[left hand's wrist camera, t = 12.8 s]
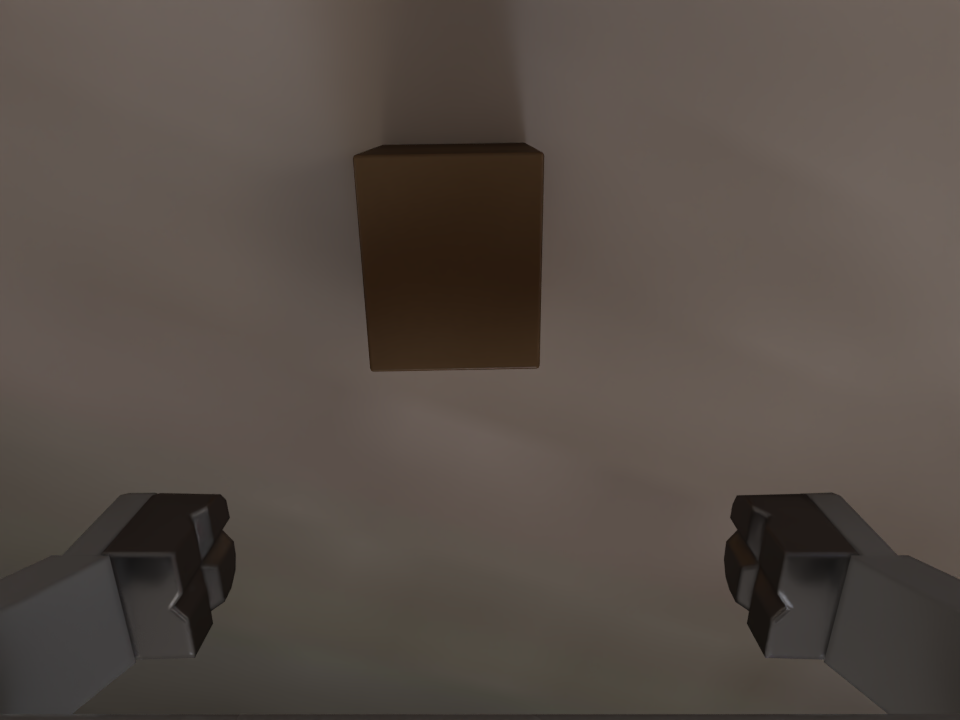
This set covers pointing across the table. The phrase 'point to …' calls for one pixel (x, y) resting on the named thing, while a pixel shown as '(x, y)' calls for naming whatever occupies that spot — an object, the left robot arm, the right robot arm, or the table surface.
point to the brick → (451, 255)
